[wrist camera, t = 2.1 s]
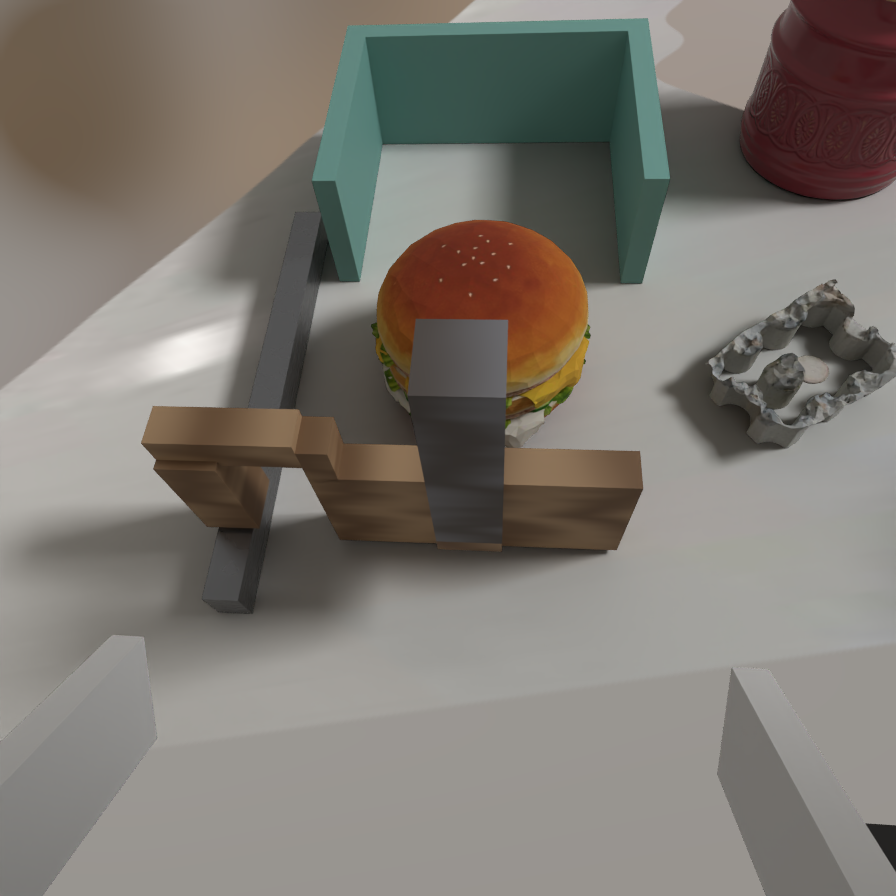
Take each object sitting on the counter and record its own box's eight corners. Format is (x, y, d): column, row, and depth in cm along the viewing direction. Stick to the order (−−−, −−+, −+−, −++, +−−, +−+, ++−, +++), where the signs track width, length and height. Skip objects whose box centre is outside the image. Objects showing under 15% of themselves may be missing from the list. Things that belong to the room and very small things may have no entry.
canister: (798, 78, 59) (905, -186, 44) (940, 147, 54) (1117, -125, 39) (701, 149, 56) (780, -112, 40) (843, 230, 50) (996, -34, 35)
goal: (626, 129, 57) (648, 18, 49) (642, 283, 49) (670, 178, 41) (367, 132, 59) (348, 25, 51) (339, 281, 51) (311, 180, 43)
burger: (545, 277, 50) (556, 160, 41) (616, 430, 43) (647, 329, 35) (366, 322, 49) (338, 211, 40) (411, 485, 42) (389, 396, 34)
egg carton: (812, 313, 47) (838, 271, 44) (896, 391, 44) (932, 352, 40) (687, 379, 45) (703, 339, 42) (765, 465, 42) (791, 431, 38)
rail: (329, 237, 53) (321, 212, 51) (252, 613, 39) (237, 600, 37) (303, 237, 53) (295, 212, 51) (218, 612, 39) (201, 599, 37)
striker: (613, 509, 40) (706, 263, 23) (619, 601, 38) (728, 401, 20) (233, 497, 42) (49, 260, 25) (212, 583, 39) (-10, 387, 22)
